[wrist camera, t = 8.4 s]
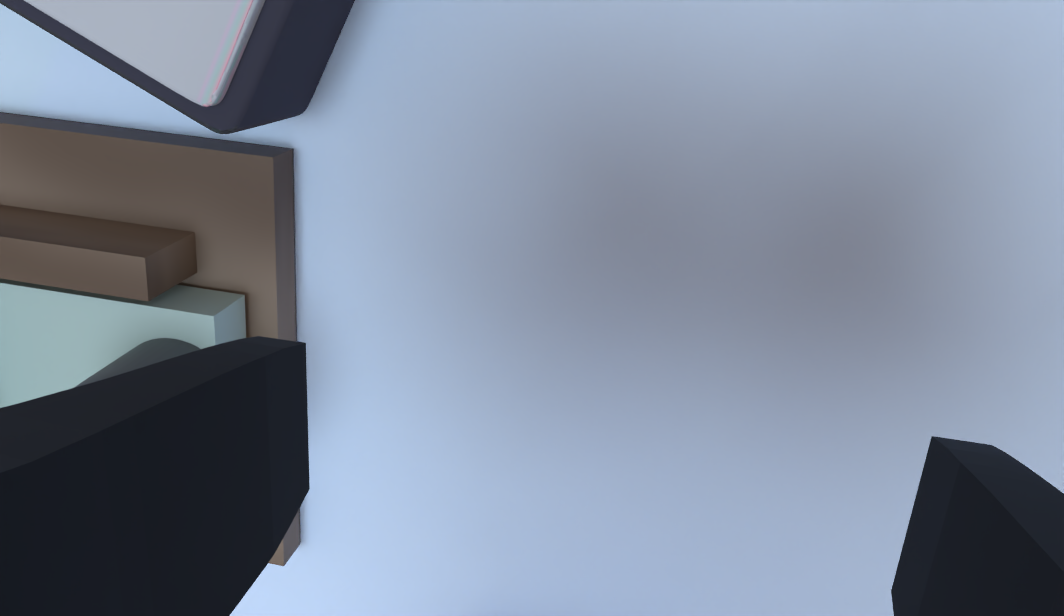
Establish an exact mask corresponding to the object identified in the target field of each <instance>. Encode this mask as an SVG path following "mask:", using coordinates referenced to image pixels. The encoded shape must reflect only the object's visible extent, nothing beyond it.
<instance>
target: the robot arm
mask: <svg viewBox="0 0 1064 616" xmlns="http://www.w3.org/2000/svg"><path fill="white" fill-rule="evenodd" d="M308 491H309V456H308V417H307V379H306V343H302V342H295V341H289V340H282V339H275V338H269V337H262V336H256V337H249V338H243V339H238V340H233V341H229V342H225V343H221V344H218V345H214V346H210V347H207V348H203V349H200V350H197V351H193V352H190V353H187V354H183V355H180V356H177V357H174V358H171V359H167V360H164V361H161V362H158V363H154V364H151V365H148V366H145V367H142V368H138V369H135V370H132V371H129V372H126V373H122V374H119V375H116V376H113V377H110V378H106V379H103V380H100V381H96V382H93V383H89V384H85V385H82V386H78V387H75V388H71V389H68V390H64V391H61V392H57V393H53V394H50V395H46V396H43V397H39V398H36V399H32V400H29V401H25V402H21V403H18V404H14V405H10V406H6V407H2V408H0V616H229V615H230V614H231V613H232V611H233V610H234V609H235V607H236V606H237V605H238V603H239V602H240V601H241V599H242V598H243V596H244V595H245V594H246V592H247V591H248V590H249V588H250V587H251V586H252V584H253V583H254V582H255V580H256V579H257V578H258V576H259V575H260V573H261V572H262V571H263V569H264V568H265V567H266V565H267V564H268V562H269V561H270V560H271V558H272V557H273V555H274V554H275V552H276V550H277V548H278V547H279V545H280V543H281V541H282V540H283V538H284V536H285V534H286V532H287V531H288V529H289V527H290V525H291V523H292V522H293V520H294V518H295V516H296V514H297V512H298V510H299V508H300V506H301V504H302V502H303V500H304V498H305V496H306V494H307V493H308ZM891 593H892V602H893V611H894V616H1064V494H1063V493H1062V492H1061V491H1059V490H1058V489H1057V488H1055V487H1054V486H1052V485H1051V484H1050V483H1048V482H1047V481H1046V480H1044V479H1043V478H1042V477H1040V476H1039V475H1037V474H1036V473H1035V472H1033V471H1032V470H1030V469H1029V468H1028V467H1026V466H1025V465H1023V464H1022V463H1020V462H1019V461H1017V460H1016V459H1014V458H1013V457H1011V456H1010V455H1008V454H1007V453H1005V452H1003V451H1001V450H1000V449H998V448H996V447H994V446H992V445H987V444H980V443H974V442H967V441H960V440H954V439H947V438H940V437H933V436H932V438H931V441H930V445H929V449H928V453H927V457H926V460H925V464H924V468H923V472H922V476H921V479H920V483H919V487H918V491H917V495H916V499H915V502H914V506H913V510H912V514H911V518H910V521H909V525H908V529H907V533H906V537H905V540H904V544H903V548H902V552H901V556H900V560H899V563H898V567H897V571H896V575H895V579H894V582H893V586H892V590H891Z"/></svg>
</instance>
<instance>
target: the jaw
mask: <svg viewBox="0 0 1064 616" xmlns="http://www.w3.org/2000/svg"><path fill="white" fill-rule="evenodd" d="M243 338H246V318H245V295H242V294H235V293H229V292H222V291H216V290H209V289H202V288H196V287H189V286H183V285H175V286H174V287H172V288H170V289H169V290H167V291H165V292H164V293H162V294H160V295H159V296H157V297H155V298H154V299H152V300H150V301H142V300H136V299H129V298H123V297H116V296H110V295H104V294H97V293H91V292H84V291H78V290H72V289H65V288H59V287H52V286H46V285H39V284H33V283H27V282H20V281H14V280H7V279H1V278H0V408H2V407H6V406H10V405H14V404H18V403H21V402H25V401H29V400H32V399H36V398H39V397H43V396H46V395H50V394H53V393H57V392H61V391H64V390H68V389H71V388H75V387H78V386H82V385H85V384H89V383H93V382H96V381H100V380H103V379H106V378H110V377H113V376H116V375H119V374H122V373H126V372H129V371H132V370H135V369H138V368H142V367H145V366H148V365H151V364H154V363H158V362H161V361H164V360H167V359H171V358H174V357H177V356H180V355H183V354H187V353H190V352H193V351H197V350H200V349H203V348H207V347H210V346H214V345H218V344H221V343H225V342H229V341H233V340H238V339H243Z"/></svg>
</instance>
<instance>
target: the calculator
mask: <svg viewBox="0 0 1064 616" xmlns="http://www.w3.org/2000/svg"><path fill="white" fill-rule="evenodd" d="M354 1H355V0H0V3H1V4H2V5H4V6H6V7H7V8H9V9H11V10H12V11H14V12H16V13H17V14H19V15H21V16H22V17H24V18H26V19H27V20H29V21H30V22H32V23H34V24H35V25H37V26H39V27H40V28H42V29H44V30H45V31H47V32H49V33H50V34H52V35H54V36H55V37H57V38H59V39H60V40H62V41H64V42H65V43H67V44H69V45H70V46H72V47H74V48H75V49H77V50H79V51H80V52H82V53H83V54H85V55H87V56H88V57H90V58H92V59H93V60H95V61H97V62H98V63H100V64H102V65H103V66H105V67H107V68H108V69H110V70H112V71H113V72H115V73H117V74H118V75H120V76H122V77H123V78H125V79H127V80H128V81H130V82H132V83H133V84H135V85H136V86H138V87H140V88H141V89H143V90H145V91H146V92H148V93H150V94H151V95H153V96H155V97H156V98H158V99H160V100H161V101H163V102H165V103H166V104H168V105H170V106H171V107H173V108H175V109H176V110H178V111H180V112H181V113H183V114H185V115H186V116H188V117H189V118H191V119H193V120H194V121H196V122H198V123H199V124H201V125H203V126H205V127H206V128H208V129H210V130H212V131H214V132H216V133H220V134H229V133H234V132H238V131H242V130H246V129H250V128H254V127H257V126H261V125H265V124H269V123H272V122H276V121H280V120H283V119H287V118H291V117H294V116H297V115H300V114H302V113H303V112H304V111H305V110H306V108H307V106H308V105H309V103H310V101H311V99H312V96H313V94H314V92H315V90H316V87H317V85H318V83H319V81H320V78H321V76H322V74H323V71H324V69H325V67H326V65H327V62H328V60H329V58H330V56H331V53H332V51H333V49H334V46H335V44H336V42H337V40H338V37H339V35H340V33H341V30H342V28H343V26H344V24H345V21H346V19H347V17H348V14H349V12H350V10H351V8H352V5H353V3H354Z"/></svg>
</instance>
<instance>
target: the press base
mask: <svg viewBox="0 0 1064 616" xmlns="http://www.w3.org/2000/svg"><path fill="white" fill-rule="evenodd" d="M0 278H1V279H7V280H14V281H20V282H27V283H33V284H39V285H46V286H52V287H59V288H65V289H72V290H78V291H84V292H91V293H97V294H104V295H110V296H116V297H123V298H129V299H136V300H142V301H150V300H152V299H154V298H155V297H157V296H159V295H160V294H162V293H164V292H165V291H167V290H169V289H170V288H172V287H174V286H175V285H183V286H189V287H196V288H202V289H209V290H216V291H222V292H229V293H235V294H242V295H245V318H246V338H249V337H256V336H262V337H269V338H275V339H282V340H289V341H295V342H296V304H295V249H294V195H293V149H290V148H282V147H274V146H266V145H258V144H250V143H242V142H234V141H226V140H217V139H209V138H201V137H193V136H185V135H177V134H169V133H161V132H153V131H145V130H137V129H129V128H121V127H113V126H105V125H97V124H89V123H81V122H73V121H65V120H57V119H49V118H41V117H33V116H25V115H17V114H9V113H1V112H0ZM299 545H300V521H299V510H298V512H297V514H296V516H295V518H294V520H293V522H292V523H291V525H290V527H289V529H288V531H287V532H286V534H285V536H284V538H283V540H282V541H281V543H280V545H279V547H278V548H277V550H276V552H275V554H274V555H273V557H272V558H271V560H270V561H269V562H268V563H271V564H276V565H281V566H284V565H285V564H286V563H287V561H288V560H289V558H290V557H291V556H292V554H293V553H294V552H295V550H296V549H297V547H298V546H299Z"/></svg>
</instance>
